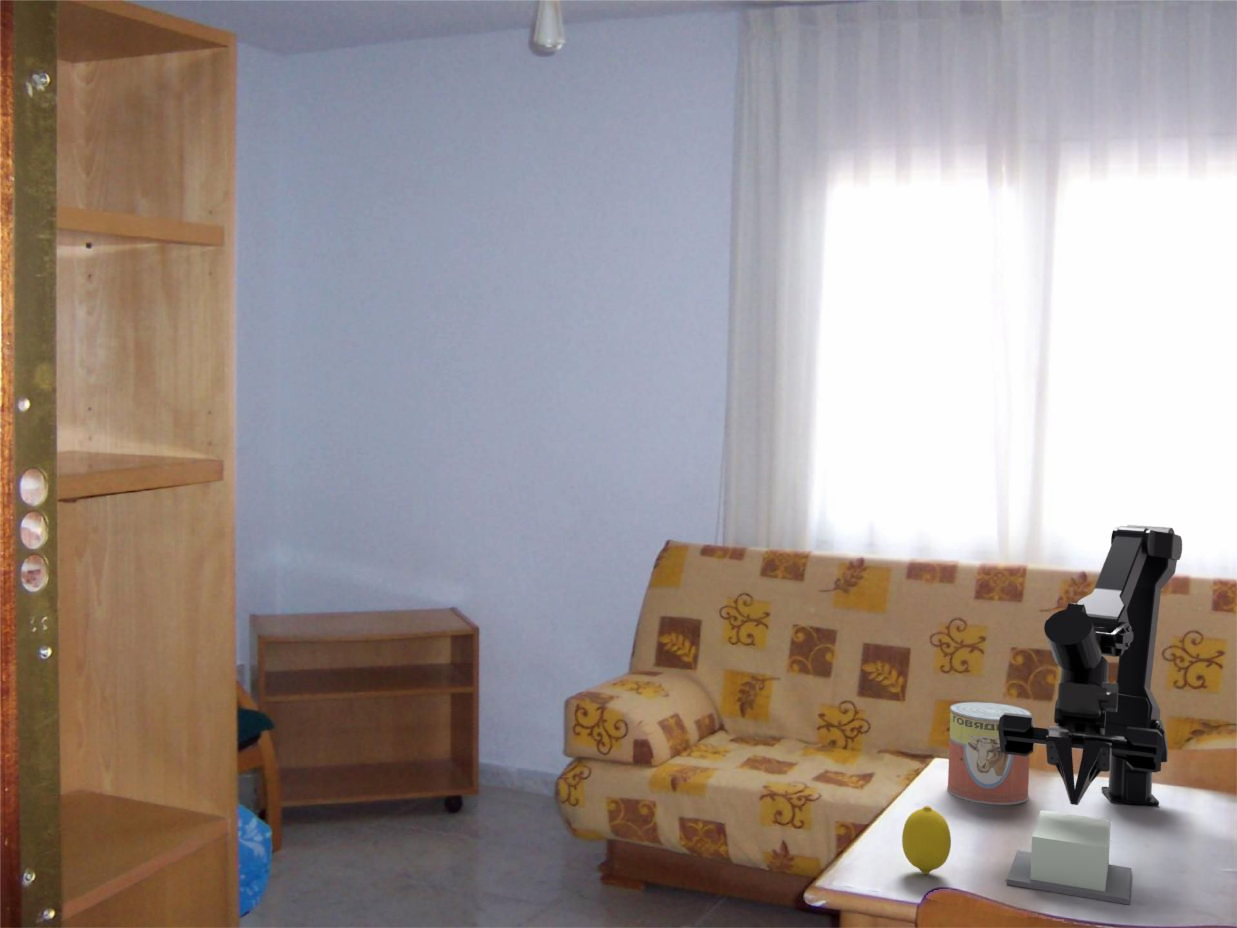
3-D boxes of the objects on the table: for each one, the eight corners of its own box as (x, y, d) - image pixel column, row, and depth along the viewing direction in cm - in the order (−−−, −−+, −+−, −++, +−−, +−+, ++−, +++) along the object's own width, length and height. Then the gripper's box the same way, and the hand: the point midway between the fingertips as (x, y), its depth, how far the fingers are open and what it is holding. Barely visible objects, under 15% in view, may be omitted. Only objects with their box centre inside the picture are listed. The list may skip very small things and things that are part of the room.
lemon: (941, 886, 142) (943, 816, 141) (894, 875, 145) (896, 807, 144) (955, 872, 146) (958, 804, 146) (910, 862, 149) (912, 796, 149)
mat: (1017, 854, 153) (1017, 850, 153) (1131, 872, 148) (1131, 867, 148) (1006, 884, 143) (1006, 878, 143) (1128, 904, 138) (1129, 898, 138)
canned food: (945, 799, 176) (948, 715, 175) (948, 778, 186) (951, 698, 186) (1029, 808, 172) (1032, 722, 172) (1027, 786, 183) (1030, 705, 183)
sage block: (1040, 810, 153) (1031, 836, 143) (1110, 819, 150) (1106, 847, 140) (1039, 850, 153) (1030, 879, 143) (1109, 860, 150) (1104, 891, 140)
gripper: (1002, 648, 156) (988, 756, 146) (1165, 663, 148) (1161, 778, 139) (1007, 698, 163) (994, 804, 154) (1162, 715, 156) (1158, 827, 146)
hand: (1074, 802), depth 148 cm, fingers closed
